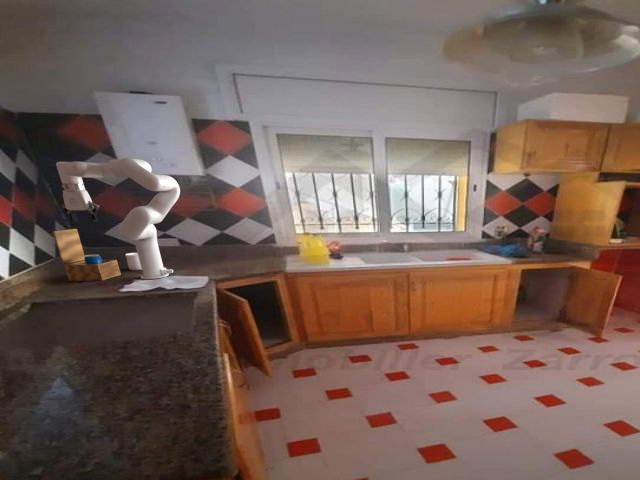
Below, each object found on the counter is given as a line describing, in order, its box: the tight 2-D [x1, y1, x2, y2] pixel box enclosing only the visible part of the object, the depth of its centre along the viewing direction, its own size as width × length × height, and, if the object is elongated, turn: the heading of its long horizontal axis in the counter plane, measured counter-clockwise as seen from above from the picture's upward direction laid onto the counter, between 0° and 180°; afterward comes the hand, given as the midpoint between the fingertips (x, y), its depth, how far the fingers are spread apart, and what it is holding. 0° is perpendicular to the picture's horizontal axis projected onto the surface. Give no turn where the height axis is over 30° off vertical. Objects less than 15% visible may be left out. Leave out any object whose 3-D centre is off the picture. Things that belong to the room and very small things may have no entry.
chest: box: [63, 259, 122, 282], centre depth 177 cm, size 17×13×9 cm
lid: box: [51, 228, 86, 265], centre depth 172 cm, size 17×13×5 cm
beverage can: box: [83, 253, 103, 265], centre depth 176 cm, size 6×6×12 cm
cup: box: [124, 252, 142, 271], centre depth 198 cm, size 10×10×10 cm
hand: (85, 221), depth 168 cm, fingers open, 9 cm apart
